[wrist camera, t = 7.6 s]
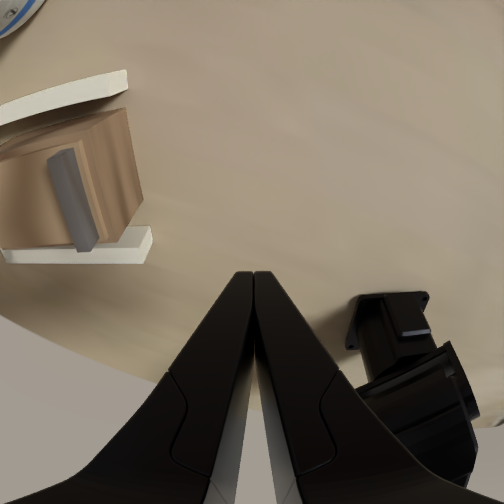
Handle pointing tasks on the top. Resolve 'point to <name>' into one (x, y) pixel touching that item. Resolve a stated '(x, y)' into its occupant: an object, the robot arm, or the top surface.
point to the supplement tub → (16, 14)
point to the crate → (69, 184)
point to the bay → (124, 252)
